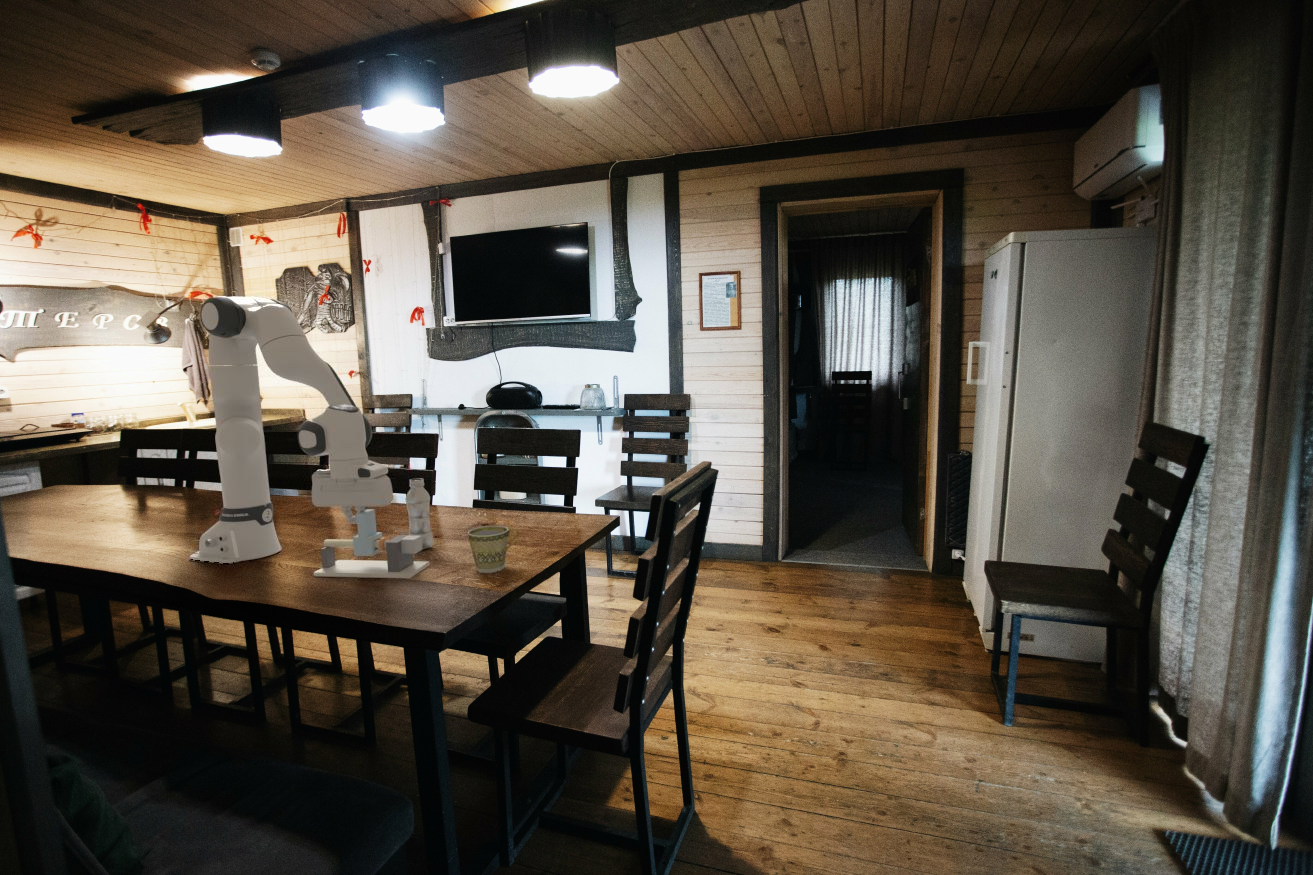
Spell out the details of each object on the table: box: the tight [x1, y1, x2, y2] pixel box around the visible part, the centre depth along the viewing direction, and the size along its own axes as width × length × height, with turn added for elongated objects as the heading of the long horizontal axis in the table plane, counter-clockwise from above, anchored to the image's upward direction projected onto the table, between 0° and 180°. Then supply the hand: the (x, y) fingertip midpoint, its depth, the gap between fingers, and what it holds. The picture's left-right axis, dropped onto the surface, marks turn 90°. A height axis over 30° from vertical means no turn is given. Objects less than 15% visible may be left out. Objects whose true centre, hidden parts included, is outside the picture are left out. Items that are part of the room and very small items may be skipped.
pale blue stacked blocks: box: [352, 508, 383, 557], centre depth 162 cm, size 5×5×11 cm
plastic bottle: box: [405, 477, 434, 551], centre depth 180 cm, size 6×7×20 cm
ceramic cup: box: [467, 525, 520, 574], centre depth 162 cm, size 13×10×10 cm
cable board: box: [313, 534, 430, 579], centre depth 163 cm, size 26×10×9 cm, turn 82°
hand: (354, 523), depth 162 cm, fingers closed
